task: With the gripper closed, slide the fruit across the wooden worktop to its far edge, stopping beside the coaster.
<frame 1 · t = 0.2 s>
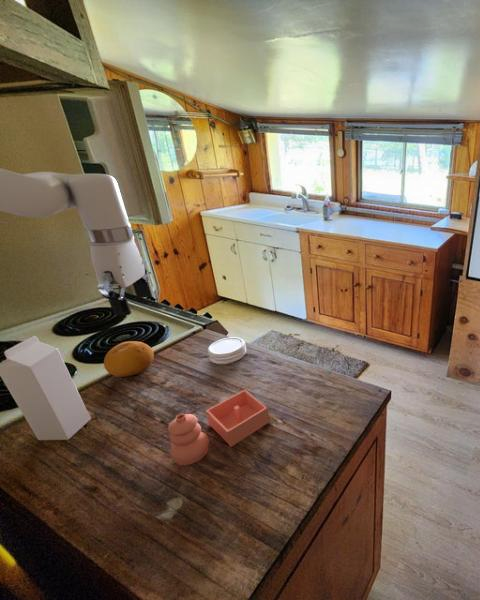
hand: (134, 305, 78), 22 cm above the counter, tool pointing down, fingers open, 9 cm apart
coaster: (228, 355, 97), on the counter
fruit: (133, 371, 89), on the counter
pottery: (220, 435, 71), on the counter
milk: (66, 429, 70), on the counter
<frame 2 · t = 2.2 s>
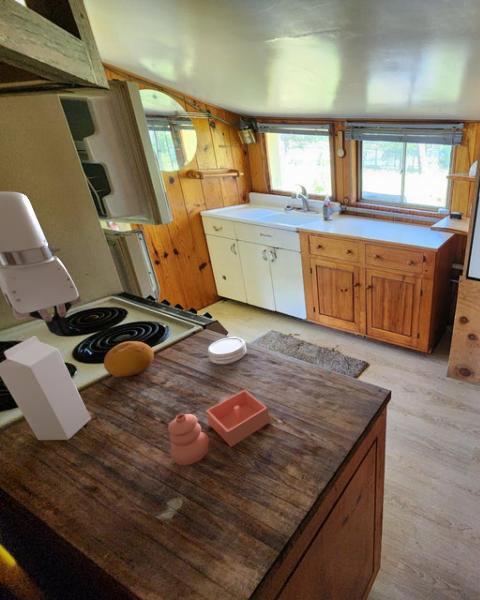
hand: (61, 332, 74), 17 cm above the counter, tool pointing down, fingers closed
nothing on the counter moved.
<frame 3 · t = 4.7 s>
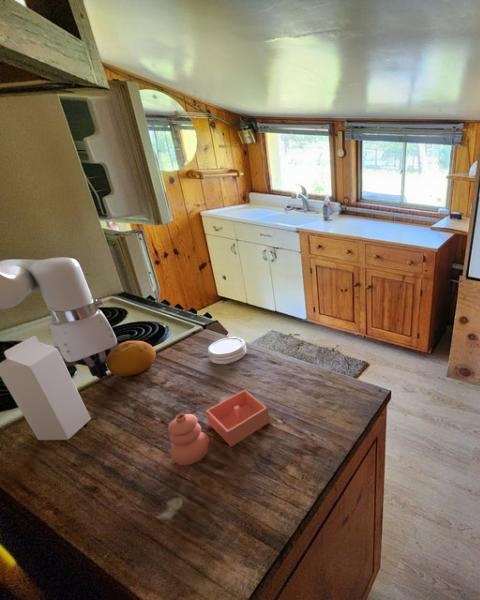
hand: (101, 375, 82), 3 cm above the counter, tool pointing down, fingers closed
fruit: (136, 370, 89), on the counter, touching gripper
everything else where it was.
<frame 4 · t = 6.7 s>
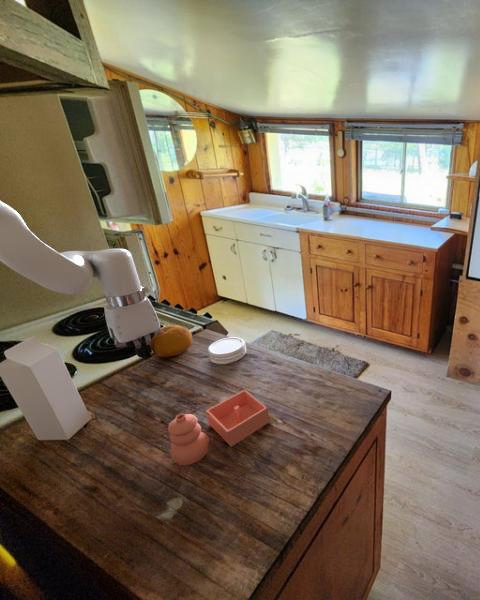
hand: (145, 356, 91), 2 cm above the counter, tool pointing down, fingers closed
fruit: (174, 352, 98), on the counter, touching gripper
everything else where it was.
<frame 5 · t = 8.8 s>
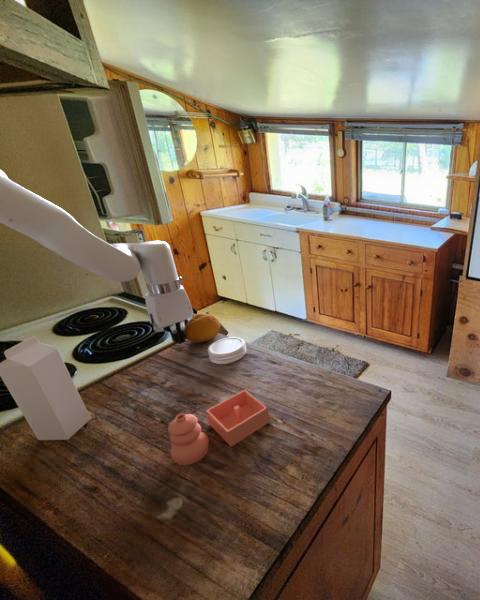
hand: (179, 341, 98), 3 cm above the counter, tool pointing down, fingers closed
fruit: (204, 338, 105), on the counter, touching gripper
everything else where it was.
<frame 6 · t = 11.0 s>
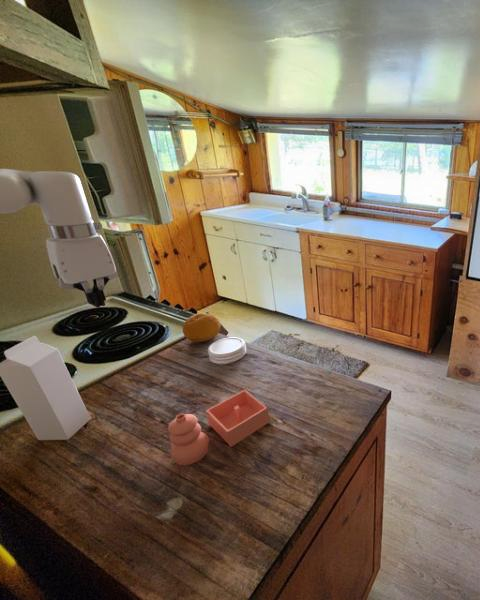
hand: (98, 305, 80), 20 cm above the counter, tool pointing down, fingers closed
fruit: (204, 338, 105), on the counter
everything else where it was.
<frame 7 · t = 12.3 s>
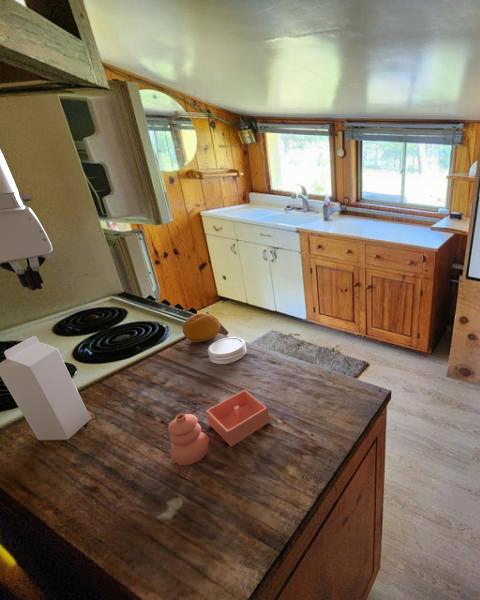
hand: (34, 288, 71), 27 cm above the counter, tool pointing down, fingers closed
nothing on the counter moved.
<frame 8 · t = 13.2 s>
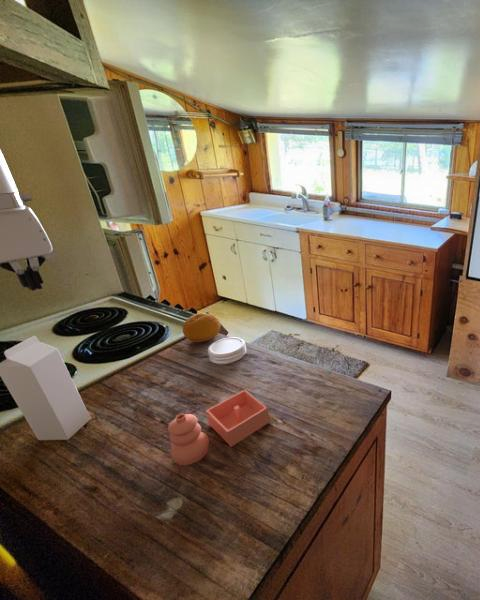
hand: (34, 288, 71), 27 cm above the counter, tool pointing down, fingers closed
nothing on the counter moved.
at the end: fruit inside the target area (0.6 cm from its centre), on the counter; fruit moved 20.1 cm from its start; coaster moved 0.2 cm from its start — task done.
